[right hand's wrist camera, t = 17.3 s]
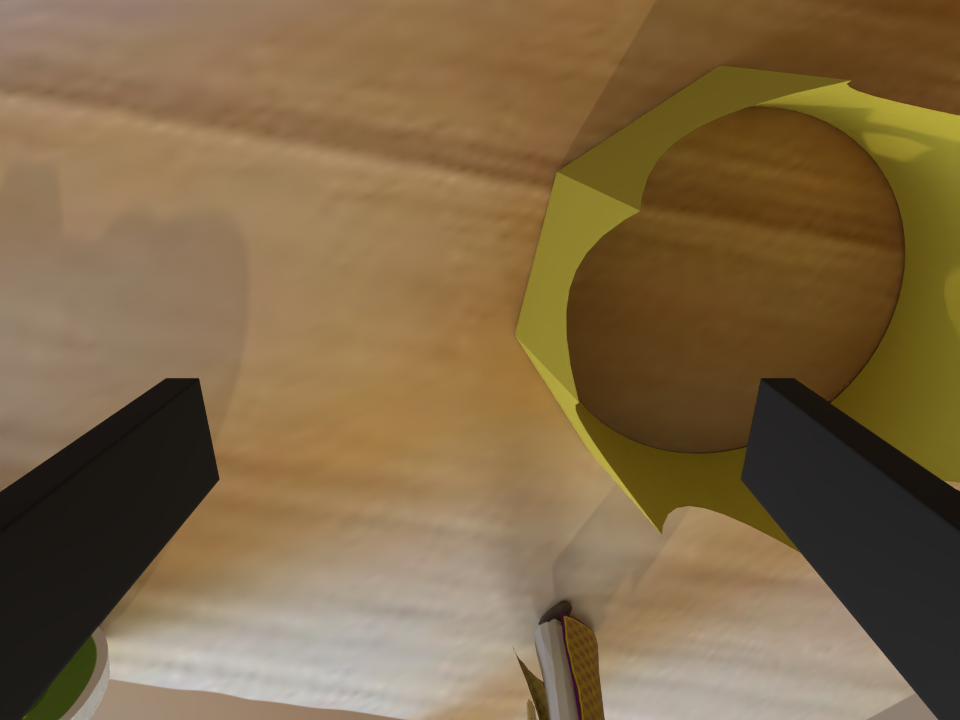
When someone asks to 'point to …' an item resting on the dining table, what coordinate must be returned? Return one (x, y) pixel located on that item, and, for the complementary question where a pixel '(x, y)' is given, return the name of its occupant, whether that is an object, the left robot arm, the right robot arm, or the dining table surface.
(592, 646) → the figurine
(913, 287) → the crown
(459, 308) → the dining table surface
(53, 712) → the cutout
